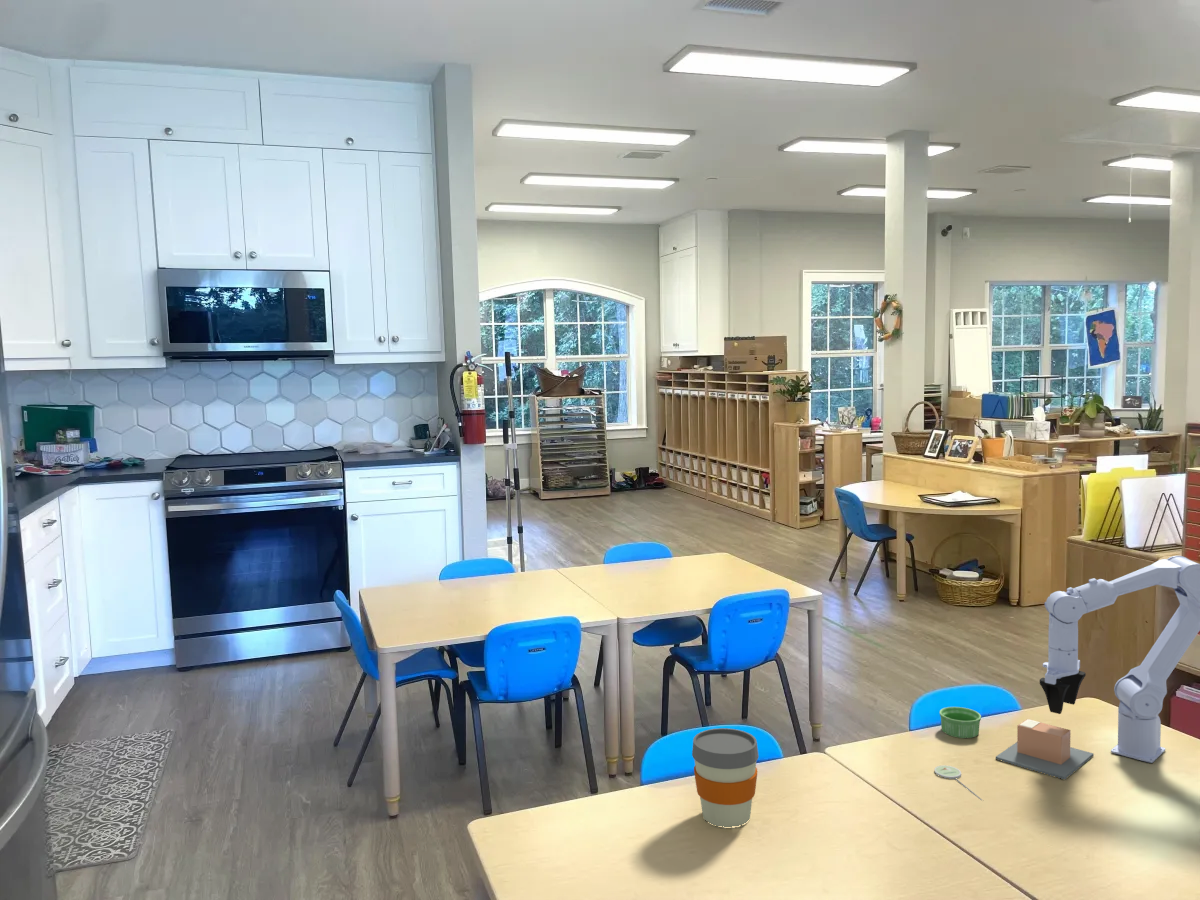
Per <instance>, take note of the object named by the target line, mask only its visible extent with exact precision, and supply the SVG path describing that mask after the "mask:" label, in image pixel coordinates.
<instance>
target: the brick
mask: <svg viewBox="0 0 1200 900" xmlns="http://www.w3.org/2000/svg"><path fill="white" fill-rule="evenodd" d="M1016 735H1017V736H1016V737H1017V739H1016V740H1017V741H1016V742H1017V752H1019V753H1022V754H1026V755H1029V756H1033V757H1036V758H1040V759H1043V760H1047V761H1050V762H1054V763H1057V764H1063V763H1064V762H1065V761H1066V760H1068V759H1069V758H1070V747H1071V729H1066V728H1063V727H1059V726H1055V725H1052V724H1048V723H1043V722H1040V721H1038V720H1033V719H1030V718H1029V719H1028V718H1026V719H1025V720H1023V721H1022V722H1020V723H1018V725H1017V734H1016Z"/></svg>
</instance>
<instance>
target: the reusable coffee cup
mask: <svg viewBox="0 0 1200 900" xmlns="http://www.w3.org/2000/svg"><path fill="white" fill-rule="evenodd" d="M692 739H693V740H692V751H691V754H692V755H691V756H692V758H693V761H694V766H693V773H694V780H695V787H696V793H697V795H698V796H699V799H700V805H701V812H702V818H703V817H704V818H703V820H704V819H705V820H706V821H708V822H709V823H711V824H713V825H716V826H722V827H723V826H724V827H732V826H739V825H742V824H744V823H746V822H747V821H748V820H749V819H750V820H751V813H752V812H751V811H752V804H753V798H755V795H756V787H757V777H758V768H757V761H758V759H759V748H758V742H757V739H756V737H755V736H754V735H753V734H751V733H749V732H746V731H744V730H740V729H737V728H736V729H735V728H727V727H726V728H723V727H721V728H719V727H718V728H710V729H707V730H703V731H700V732H699V733H697V734H696V735H695V736H694V737H693V738H692ZM705 820H704V821H705ZM750 820H749V821H750ZM706 821H705V822H706Z"/></svg>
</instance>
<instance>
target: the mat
mask: <svg viewBox="0 0 1200 900" xmlns="http://www.w3.org/2000/svg"><path fill="white" fill-rule="evenodd" d="M1092 756H1093V757H1094V753H1093V752H1089V751H1086V750H1082V749H1080V748H1074V747H1071V746H1070V758H1069V759H1068V760H1066V761H1065V762H1064V763H1063V764H1057V763H1054V762H1050V761H1047V760H1043V759H1040V758H1036V757H1033V756H1029V755H1026V754H1022V753H1019V752H1017V741H1016V742H1015V743H1013V744H1012V745H1010V746H1009V747H1008V748H1006V749H1005V750H1003V751H1002V752H1000V753H999V754H997V755H996V756H995V760H996V759H998V760H997V761H999V760H1002V761H1001V762H1003V761H1004V763H1006V762H1008V763H1007V764H1009V763H1011V764H1010V765H1013V764H1014V766H1016V765H1017V766H1016V767H1020V766H1021V767H1020V768H1023V767H1024V769H1026V768H1028V769H1027V770H1030V769H1031V770H1030V771H1033V770H1035V771H1034V772H1036V771H1038V772H1037V773H1040V772H1042V773H1041V774H1043V773H1045V774H1044V775H1046V774H1048V775H1047V776H1050V775H1051V776H1050V777H1053V776H1055V777H1054V778H1056V777H1058V778H1057V779H1060V778H1061V779H1060V780H1063V779H1065V780H1067V779H1068V778H1069V777H1070V776H1071V775H1072V774H1074V773H1075V772H1076V771H1078V770H1079V769H1080V768H1081V767H1082V766H1084V765H1085V764H1086V763H1087V762H1088V761H1089V760H1090V759H1092V758H1093V757H1092ZM1091 757H1092V758H1091ZM1085 762H1086V763H1085ZM1079 767H1080V768H1079ZM1074 771H1075V772H1074ZM1073 772H1074V773H1073ZM1069 775H1070V776H1069ZM1068 776H1069V777H1068ZM1067 777H1068V778H1067ZM1066 778H1067V779H1066Z"/></svg>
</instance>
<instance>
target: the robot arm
mask: <svg viewBox="0 0 1200 900" xmlns="http://www.w3.org/2000/svg"><path fill="white" fill-rule="evenodd" d="M1153 586H1162V587H1167V588H1170V589H1171V588H1172V589H1173V591H1174V593H1175V595H1176V597H1177V600H1178V602H1179V606H1178V608H1176V610H1175V612H1174V614H1173V615H1172V617H1171V618H1170V619H1169V621H1168V623H1167V624H1166V626H1165V627H1164V629H1163V630H1162V631H1161V633H1160V635H1159V636H1158V638H1157V639H1156V641H1155V642H1154V644H1153V645H1152V646H1151V648H1150V650H1149V651H1148V653H1147V654H1146V656H1145V657H1144V659H1143V660H1142V662H1141V663H1140V665H1137V666H1135V667H1133V668H1130V670H1129V671H1128V673H1127V674H1125V675H1124V676H1123V677H1121V678H1120V679H1118V680H1117V681H1116V683H1115V684H1114V688H1113V692H1114V695H1115V697H1116V698H1117V699H1118V700H1119V705H1118V709H1117V710H1118V711H1117V713H1118V714H1117V715H1118V716H1117V720H1118V721H1117V744H1116V745H1115V746H1114V747H1113V748H1111V750H1110V753H1112V754H1115V755H1119V756H1123V757H1127V758H1130V759H1133V760H1138V761H1141V762H1145V763H1149V764H1153V763H1154V762H1155V761H1156V760H1157V759H1158V758H1159V757H1160V756H1161V755H1162V754H1164V752H1165V751H1166V748H1165V747H1162V746H1161V733H1162V732H1161V731H1162V730H1161V728H1162V727H1161V726H1162V724H1161V723H1162V722H1161V718H1160V716H1159V714H1160V713H1161V711H1162V709H1163V706H1164V705H1163V703H1164V698H1165V697H1166V696H1167V694H1168V690H1167V689H1168V687H1167V680H1168V678H1170V676H1171V674H1172V672H1173V670H1175V668H1176V667H1177V665H1178V664H1179V662H1180V660H1181V659H1182V658H1183V656H1184V654H1185V653H1186V652H1187V650H1188V649H1189V647H1190V646H1191V644H1192V643H1193V641H1194V640H1195V638H1196V637H1197V636H1198V634H1199V632H1200V563H1198V562H1195V561H1194V560H1191V559H1189V558H1188V557H1185V556H1182V555H1172V556H1170V557H1168V558H1162V559H1158V560H1157V561H1155V562H1153V563H1152V564H1149V565H1147V566H1145V567H1141V568H1139V569H1138V570H1135V571H1132V572H1130V573H1127V574H1125V575H1123V576H1120V577H1117V578H1115V579H1113V580H1110V581H1108V580H1106V579H1102V578H1099V579H1096V578H1095V577H1094V578H1089V579H1088V582H1087V583H1084V584H1082V585H1079V586H1076V587H1071V586H1070V587H1068V588H1066V591H1061V590H1057V591H1054V592H1052V593H1050V594H1049V596H1048V597H1047V598H1046V600H1045V602H1044V607H1045V609H1046V611H1047V612H1048V644H1047V645H1048V649H1047V651H1048V652H1047V653H1048V656H1047V657H1048V659H1047V660H1048V661H1045V662H1043V663H1042V667H1043V668H1046V673H1045V674H1044V677H1041V678H1040V679H1039V685H1040V686H1041V688H1042V690H1043V692H1044V694H1045V697H1046V701H1047V704H1048V708H1049V711H1050V713H1054V714H1058V715H1060V714H1062V712H1063V708H1064V704H1068V705H1069V704H1070V705H1073V706H1074V705H1075V704H1076V701H1077V697H1078V694H1079V690H1080V687H1081V686H1082V685H1081V684H1082V682H1083V680H1084V679H1085V677H1086V675H1087V674H1086V672H1085V671H1082V670H1080V669H1081V660H1080V659H1079V656H1078V655H1079V624H1078V623H1079V620H1080V619H1081V618H1082V616H1083V615H1085V614H1088V613H1091V612H1094V611H1098V610H1100V609H1102V608H1105V607H1108V606H1111V605H1114V604H1115V602H1116V600H1117V599H1118V597H1119V596H1122V595H1126V594H1130V593H1133V592H1137V591H1140V590H1143V589H1147V588H1150V587H1153Z"/></svg>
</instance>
